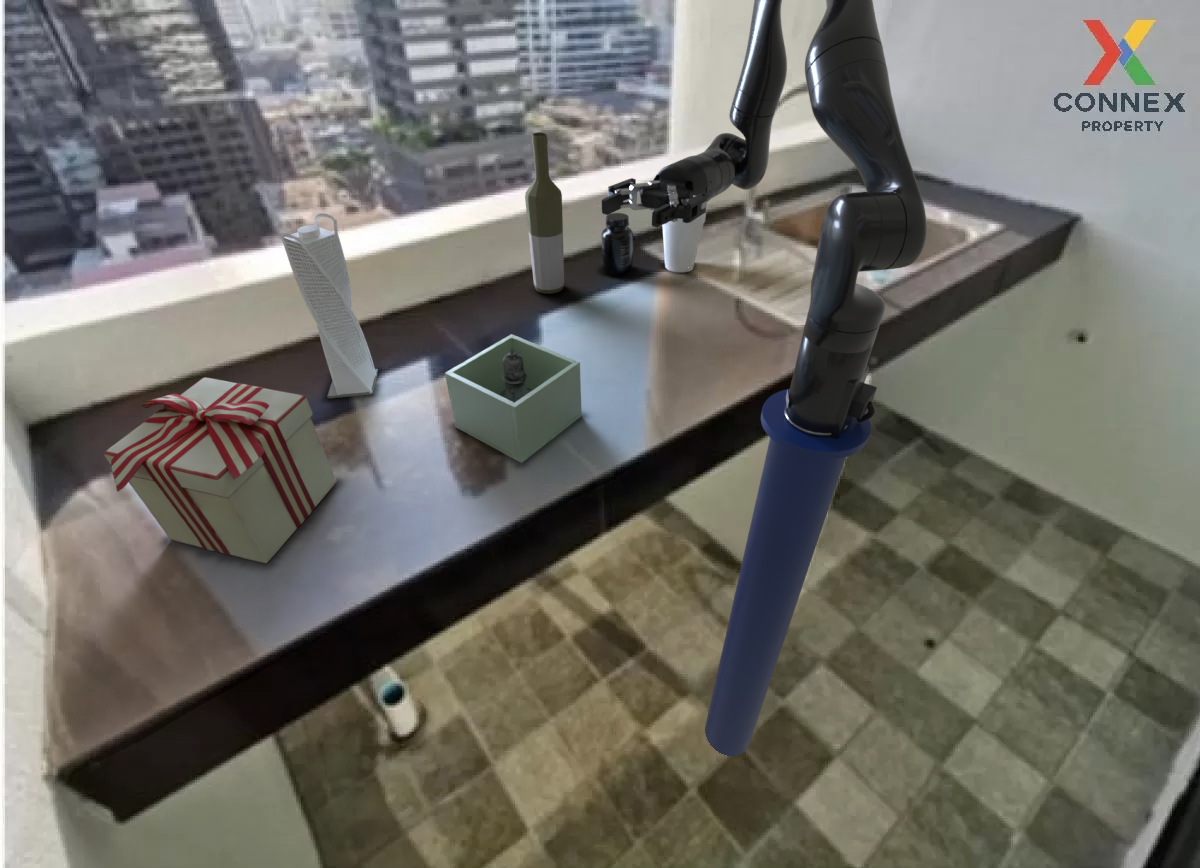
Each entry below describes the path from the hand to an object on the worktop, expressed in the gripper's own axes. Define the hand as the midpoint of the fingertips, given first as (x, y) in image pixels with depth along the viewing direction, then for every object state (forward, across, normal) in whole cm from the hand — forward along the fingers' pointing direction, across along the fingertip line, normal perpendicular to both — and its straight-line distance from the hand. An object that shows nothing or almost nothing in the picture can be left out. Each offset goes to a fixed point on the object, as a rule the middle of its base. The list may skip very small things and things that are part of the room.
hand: (628, 213), depth 84 cm
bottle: (-18, -32, +27) cm, 46 cm away
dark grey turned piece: (+19, -6, +27) cm, 34 cm away
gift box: (+54, -19, +28) cm, 64 cm away
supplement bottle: (-34, -26, +27) cm, 50 cm away
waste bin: (+19, -6, +27) cm, 34 cm away
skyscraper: (+28, -34, +27) cm, 52 cm away
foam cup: (-44, -16, +27) cm, 54 cm away
